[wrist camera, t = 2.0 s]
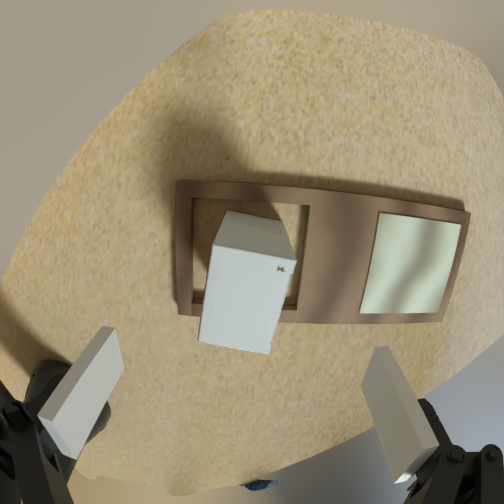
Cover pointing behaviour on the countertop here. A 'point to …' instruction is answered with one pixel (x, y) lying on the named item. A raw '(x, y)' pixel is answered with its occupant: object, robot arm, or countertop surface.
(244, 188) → the board
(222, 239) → the small box
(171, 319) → the countertop surface
